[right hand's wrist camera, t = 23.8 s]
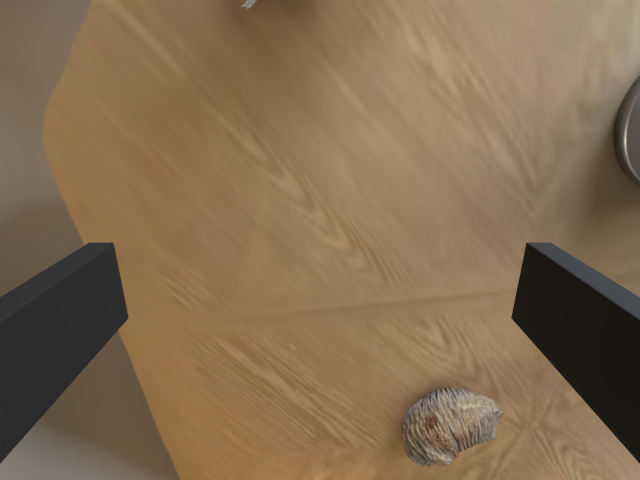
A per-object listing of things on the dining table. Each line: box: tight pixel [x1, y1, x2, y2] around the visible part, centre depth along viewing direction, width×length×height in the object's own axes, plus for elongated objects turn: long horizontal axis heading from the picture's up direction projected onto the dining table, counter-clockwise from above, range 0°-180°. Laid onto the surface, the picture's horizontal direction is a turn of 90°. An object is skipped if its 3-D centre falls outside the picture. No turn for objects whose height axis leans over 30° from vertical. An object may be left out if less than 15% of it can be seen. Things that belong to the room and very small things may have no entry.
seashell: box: [401, 388, 503, 466], centre depth 49 cm, size 14×10×10 cm
